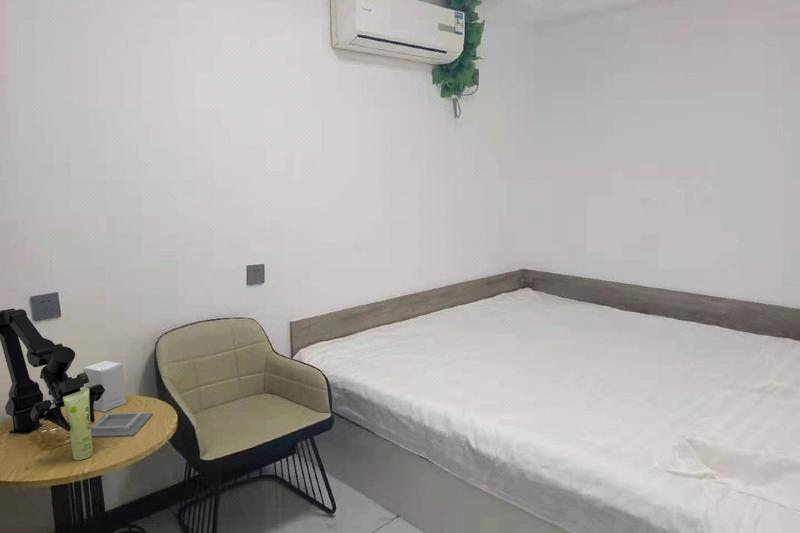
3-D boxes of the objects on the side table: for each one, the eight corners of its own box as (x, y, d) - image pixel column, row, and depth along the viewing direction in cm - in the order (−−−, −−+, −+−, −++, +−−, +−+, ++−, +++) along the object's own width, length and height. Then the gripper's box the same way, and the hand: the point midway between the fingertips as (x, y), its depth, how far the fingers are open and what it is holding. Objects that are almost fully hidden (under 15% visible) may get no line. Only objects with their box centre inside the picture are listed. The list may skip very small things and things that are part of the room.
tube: (89, 460, 155) (82, 395, 152) (69, 462, 154) (62, 396, 151) (95, 451, 161) (89, 387, 158) (76, 453, 159) (69, 389, 156)
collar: (91, 433, 171) (90, 428, 171) (108, 417, 182) (107, 413, 182) (128, 431, 172) (128, 427, 172) (143, 416, 183) (142, 412, 183)
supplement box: (127, 403, 196) (123, 363, 193) (104, 412, 188) (100, 370, 185) (109, 399, 199) (105, 359, 197) (86, 408, 191) (82, 367, 189)
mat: (80, 438, 169) (80, 436, 169) (104, 416, 185) (104, 414, 184) (133, 436, 170) (133, 434, 170) (152, 414, 186) (152, 413, 186)
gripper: (30, 376, 148) (54, 424, 143) (99, 357, 163) (123, 400, 159) (19, 398, 153) (43, 444, 149) (87, 377, 169) (110, 419, 164)
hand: (81, 426), depth 155 cm, fingers open, 6 cm apart
